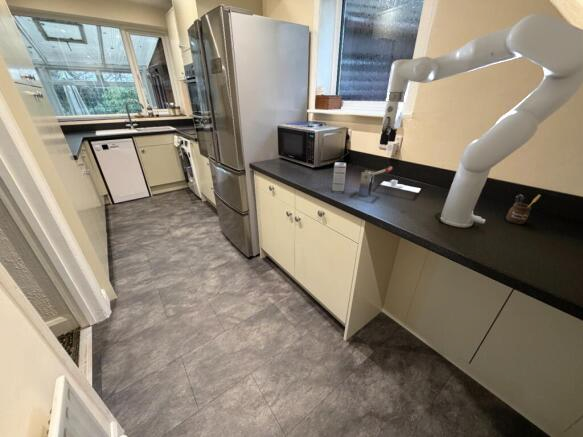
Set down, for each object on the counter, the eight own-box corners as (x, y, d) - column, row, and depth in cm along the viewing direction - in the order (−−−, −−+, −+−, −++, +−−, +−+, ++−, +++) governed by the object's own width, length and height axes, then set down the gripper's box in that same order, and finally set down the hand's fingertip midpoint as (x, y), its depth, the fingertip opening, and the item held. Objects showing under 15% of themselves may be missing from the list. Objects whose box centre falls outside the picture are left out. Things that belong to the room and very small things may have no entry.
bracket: (378, 197, 115) (383, 172, 109) (371, 203, 109) (376, 176, 103) (357, 192, 121) (361, 167, 115) (349, 197, 114) (353, 172, 108)
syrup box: (343, 193, 118) (346, 165, 112) (331, 192, 119) (334, 164, 113) (343, 189, 123) (346, 162, 117) (332, 188, 124) (334, 161, 118)
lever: (393, 170, 104) (391, 165, 104) (389, 172, 100) (388, 167, 100) (367, 177, 112) (366, 172, 112) (363, 180, 109) (362, 175, 109)
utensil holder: (503, 216, 98) (516, 189, 92) (522, 219, 96) (537, 192, 90) (507, 222, 93) (521, 194, 88) (527, 225, 91) (543, 197, 85)
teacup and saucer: (404, 187, 127) (405, 180, 125) (400, 191, 121) (402, 184, 119) (387, 184, 132) (389, 177, 130) (383, 188, 126) (385, 181, 124)
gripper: (399, 98, 83) (390, 147, 91) (411, 97, 95) (401, 141, 103) (378, 97, 87) (371, 144, 95) (392, 97, 99) (384, 139, 107)
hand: (387, 142), depth 99 cm, fingers open, 9 cm apart
